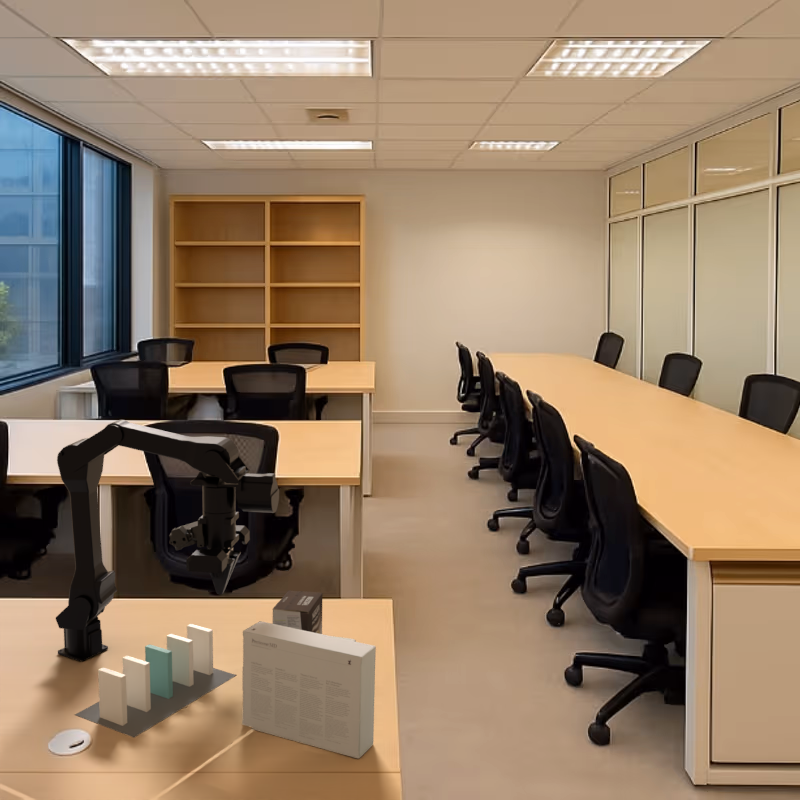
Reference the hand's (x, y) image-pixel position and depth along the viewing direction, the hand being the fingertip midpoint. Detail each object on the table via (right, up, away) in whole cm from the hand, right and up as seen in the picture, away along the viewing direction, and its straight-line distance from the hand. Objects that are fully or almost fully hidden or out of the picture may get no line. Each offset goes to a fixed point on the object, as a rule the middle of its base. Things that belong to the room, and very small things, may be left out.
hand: (220, 593), depth 160 cm
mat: (-8, -15, -11) cm, 20 cm away
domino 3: (-5, -14, -7) cm, 16 cm away
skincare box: (+18, -17, -22) cm, 33 cm away
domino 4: (-3, -13, -3) cm, 14 cm away
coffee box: (+15, -15, -8) cm, 23 cm away
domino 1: (-13, -16, -20) cm, 28 cm away
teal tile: (-8, -14, -11) cm, 20 cm away
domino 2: (-10, -15, -16) cm, 24 cm away
